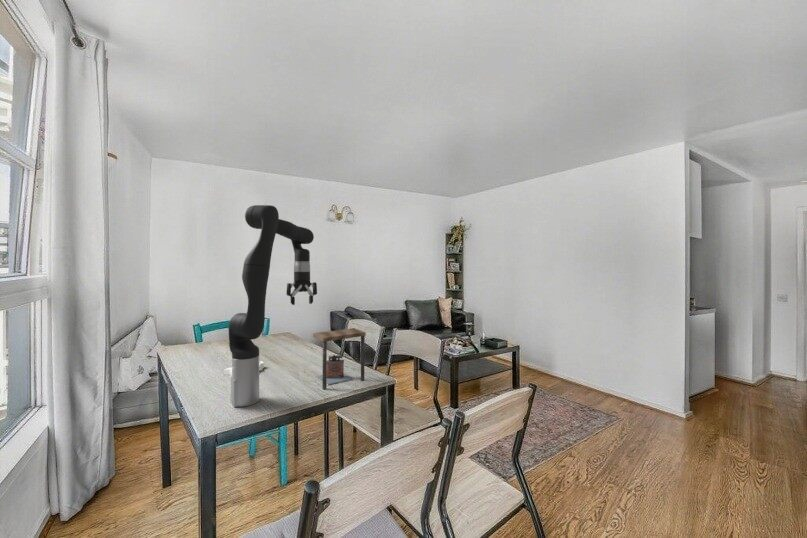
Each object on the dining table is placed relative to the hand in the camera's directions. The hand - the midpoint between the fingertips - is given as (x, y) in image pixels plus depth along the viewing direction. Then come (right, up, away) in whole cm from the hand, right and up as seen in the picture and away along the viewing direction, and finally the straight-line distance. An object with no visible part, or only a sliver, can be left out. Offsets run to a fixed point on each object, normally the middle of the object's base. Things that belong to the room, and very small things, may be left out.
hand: (302, 304), depth 162 cm
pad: (+18, -32, -11) cm, 39 cm away
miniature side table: (+21, -33, -14) cm, 41 cm away
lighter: (+18, -32, -10) cm, 38 cm away
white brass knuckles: (-26, -33, -3) cm, 42 cm away
